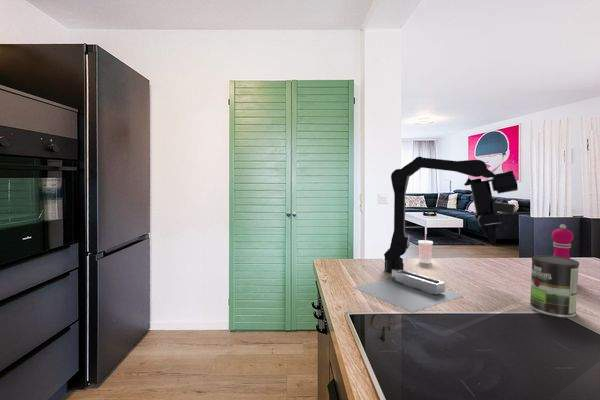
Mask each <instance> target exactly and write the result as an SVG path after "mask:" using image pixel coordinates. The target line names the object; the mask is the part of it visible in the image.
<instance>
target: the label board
mask: <svg viewBox="0 0 600 400" xmlns="http://www.w3.org/2000/svg"><path fill="white" fill-rule="evenodd" d="M352 288H353V289H355V290H358V291H360V292H362V293H365V294H367V295H369V296H372V297H375V298H377V299H379V300H381V301H383V302H387V303H389V304H392V305H393V306H395V307H399V308H401V309H403V310H405V311H408V312H410V313H414V312H418V311H421V310H424V309H427V308H431V307H434V306H437V305H440V304H443V303H445V302H449V301H452V300H455V299H458V298H461V297H464V295H463V294H459V293H456V292H454V291H451V290H447V289H445V292H443V293H440V294H437V295H436V294H433V293H430V292H427V291H424V290H421V289H418V288H415V287H412V286H409V285H406V284H403V283H400V282H398V281H395V280H393V279H392V277H391V278H387V279H384V280H378V281H374V282H369V283H366V284H362V285H357V286H352Z"/></svg>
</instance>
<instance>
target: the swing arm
mask: <svg viewBox="0 0 600 400" xmlns="http://www.w3.org/2000/svg"><path fill="white" fill-rule="evenodd" d="M391 278H392V279H393V280H395V281H398V282H400V283H403V284H406V285H409V286H412V287H415V288H418V289H421V290H424V291H427V292H430V293H433V294H436V295H437V294H440V293H443V292H445V290H446V282H444V281H441V280H439V279H435V278H431V277H428V276H425V275H420V274H418V273H414V272H410V271H408V270H404V269H403V271H402V270H400V269H393V270H392V273H391Z"/></svg>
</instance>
